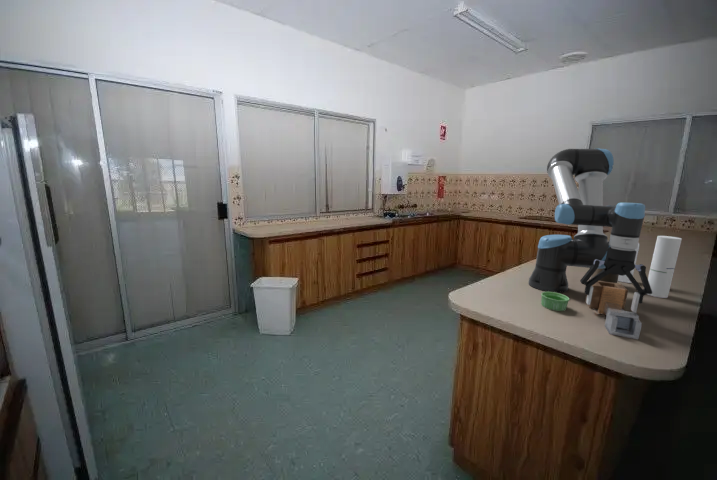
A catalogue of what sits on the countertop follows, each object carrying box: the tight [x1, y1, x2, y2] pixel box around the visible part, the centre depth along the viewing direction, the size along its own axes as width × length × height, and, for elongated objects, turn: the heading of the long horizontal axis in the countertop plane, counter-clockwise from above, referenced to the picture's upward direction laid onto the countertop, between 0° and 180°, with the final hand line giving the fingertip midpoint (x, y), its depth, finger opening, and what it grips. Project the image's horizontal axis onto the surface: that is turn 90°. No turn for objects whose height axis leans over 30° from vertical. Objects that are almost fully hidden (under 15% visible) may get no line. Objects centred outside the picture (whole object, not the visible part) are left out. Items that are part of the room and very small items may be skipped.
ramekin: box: [540, 291, 570, 312], centre depth 116 cm, size 9×9×4 cm
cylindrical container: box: [647, 235, 683, 299], centre depth 129 cm, size 7×7×25 cm
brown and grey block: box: [597, 286, 630, 329], centre depth 105 cm, size 6×20×10 cm, turn 153°
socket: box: [584, 278, 629, 311], centre depth 116 cm, size 10×8×9 cm
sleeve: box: [604, 308, 643, 340], centre depth 96 cm, size 7×6×6 cm
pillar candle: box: [590, 268, 619, 283], centre depth 143 cm, size 10×10×15 cm
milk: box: [617, 242, 640, 284], centre depth 147 cm, size 6×6×22 cm
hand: (610, 307), depth 109 cm, fingers open, 12 cm apart
